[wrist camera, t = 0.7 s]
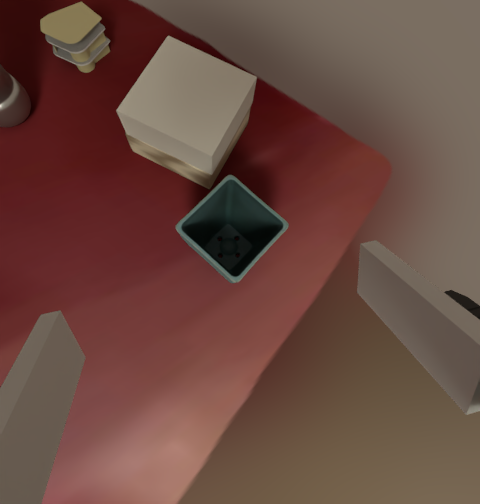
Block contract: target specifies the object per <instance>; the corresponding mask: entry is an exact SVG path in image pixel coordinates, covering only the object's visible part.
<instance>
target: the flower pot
mask: <svg viewBox="0 0 480 504" xmlns="http://www.w3.org/2000/svg"><path fill="white" fill-rule="evenodd" d="M288 225H289V224H288V222H287V221H285V220H284V219H283V218H282V217H281V216H280V215H278V214H277V213H276V212H275V211H274V210H273V209H271V208H270V207H269V206H268V205H267V204H265V203H264V202H263V201H262V200H261V199H260V198H258V197H257V196H256V195H255V194H254V193H253V192H251V191H250V190H249V189H248V188H247V187H246V186H245V185H244V184H243V183H241V182H240V181H239V180H238V179H237V178H236V177H234V176H233V175H228V176H226V177H225V178H224V179H223V180H222V181H221V182H220V183H219V184H218V185H217V186H216V187H215V188H214V189H213V190H212V191H211V192H210V193H209V194H208V195H207V196H206V197H205V198H204V199H203V200H202V201H201V202H200V203H198V205H196V206H195V207H194V208H193V209H192V210H191V211H190V212H189V213H188V214H187V215H186V216H185V217H184V218H183V219H182V220H181V221H179V223H178V224H177V225H176V230H177V232H178V233H179V234H180V235H181V237H182V238H183V239H184V241H185V242H186V243H187V244H188V245H189V246H190V247H192V248H193V249H194V250H195V251H196V252H197V253H198V254H199V255H200V256H201V257H203V258H204V259H205V260H206V261H207V262H208V263H209V264H210V265H211V266H212V267H213V268H215V269H216V270H217V271H218V272H219V273H220V274H221V275H222V276H223V277H224V278H225V279H227V280H228V281H229V282H230V283H236V282H239V281H240V280H241V279H242V278H243V277H244V275H245V274H246V273H247V272H248V271H249V270H250V269H251V267H252V266H253V265H254V264H255V263H256V262H257V261H258V260H259V258H260V257H261V256H262V255H263V254H264V253H265V252H266V251H267V250H268V249H269V247H270V246H271V245H272V244H273V243H274V242H275V241H276V240H277V239H278V238H279V237H280V236H281V235H282V234H283V233H284V232H285V231H286V230H287V228H288ZM219 237H220V238H222V240H221V241H218V238H219ZM235 237H238V238H239V240H235ZM237 253H238V254H240V256H239V257H236V254H237ZM219 254H222V257H221V258H219V257H218V255H219Z"/></svg>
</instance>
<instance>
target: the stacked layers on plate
mask: <svg viewBox="0 0 480 504" xmlns="http://www.w3.org/2000/svg"><path fill="white" fill-rule="evenodd" d="M101 19H102V18H101V17H100V16H99V15H97V14H96V13H95V12H94V11H92V10H91V9H90V8H89V7H87V6H86V5H85V4H84V3H82V2H79V3H76V4H74V5H71V6H69V7H66V8H63V9H61V10H58V11H56V12H53V13H50V14H48V15H47V16H45V17H44V18H42V19H41V20H40V25H41V31H42V32H43V33H45V34H46V41H47V42H48V43H50V44H52V45H53V53H54V54H55V55H56V56H58V57H60V58H62V59H65V60H67V61H69V62H71V63H73V64H75V65H77V67H78V69H79V70H80V71H81V72H85V73H87V72H91V71H92V70H93V69H94V68H95V63H96V62H98V61H99V60H100V59H101V58H103V57H104V56H105V55H106V54H108V53H109V52H110V49H109V46H108V44H109V43H110V40H109V39H108V38H107V37H105V35H104V33H103V31H104V30H105V26H103V25H102V24H101V23H100V22H99V21H100V20H101Z"/></svg>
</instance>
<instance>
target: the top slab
mask: <svg viewBox="0 0 480 504" xmlns="http://www.w3.org/2000/svg"><path fill="white" fill-rule="evenodd" d="M256 79H257V77H256V76H254V75H251V74H249V73H247V72H245V71H243V70H241V69H239V68H236V67H234V66H232V65H230V64H228V63H226V62H224V61H222V60H219V59H217V58H215V57H213V56H211V55H209V54H207V53H204V52H202V51H200V50H198V49H196V48H194V47H192V46H189V45H187V44H185V43H183V42H181V41H179V40H177V39H175V38H172V37H170V36H167V38H166V39H165V41H164V42H163V44H162V45H161V46H160V48H159V49H158V51H157V52H156V54H155V55H154V57H153V58H152V59H151V61H150V62H149V64H148V65H147V67H146V68H145V70H144V71H143V72H142V74H141V75H140V77H139V78H138V80H137V81H136V83H135V84H134V85H133V87H132V88H131V90H130V91H129V93H128V94H127V96H126V97H125V98H124V100H123V101H122V103H121V104H120V106H119V107H118V109H117V110H116V111H117V113H118V116H119V118H120V120H121V122H122V125H123V127H124V129H125V131H126V133H127V134H128V135H130V136H132V137H134V138H136V139H138V140H140V141H142V142H144V143H146V144H148V145H150V146H153V147H155V148H157V149H159V150H161V151H163V152H165V153H167V154H169V155H171V156H173V157H175V158H177V159H179V160H182V161H184V162H186V163H188V164H190V165H192V166H194V167H196V168H198V169H200V170H202V171H204V172H207V173H209V174H211V175H212V174H213V173H214V171H215V169H216V167H217V165H218V164H219V162H220V160H221V158H222V156H223V155H224V153H225V151H226V149H227V147H228V146H229V144H230V142H231V140H232V138H233V137H234V135H235V133H236V131H237V130H238V128H239V126H240V124H241V122H242V121H243V119H244V117H245V115H246V113H247V112H248V110H249V108H250V106H251V104H252V102H253V97H254V91H255V85H256Z"/></svg>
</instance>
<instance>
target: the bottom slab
mask: <svg viewBox="0 0 480 504" xmlns="http://www.w3.org/2000/svg"><path fill="white" fill-rule="evenodd" d="M250 108H251V106H250ZM250 108H249V110H248V112H247V113H246V115H245V117H244V119H243V121H242V122H241V124H240V126H239V128H238V130H237V131H236V133H235V135H234V137H233V138H232V140H231V142H230V144H229V146H228V147H227V149H226V151H225V153H224V155H223V156H222V158H221V160H220V162H219V164H218V165H217V167H216V169H215V171H214V173H213V174H212V175H211V174H209V173H207V172H204V171H202V170H200V169H198V168H196V167H194V166H192V165H190V164H188V163H186V162H184V161H182V160H179V159H177V158H175V157H173V156H171V155H169V154H167V153H165V152H163V151H161V150H159V149H157V148H155V147H153V146H150V145H148V144H146V143H144V142H142V141H140V140H138V139H136V138H134V137H132V136H130V135H128V134H127V133H125V135H126V137H127V139H128V141H129V144H130V146H131V148H132V150H133V151H134V152H136V153H138V154H140V155H142V156H144V157H146V158H148V159H150V160H152V161H154V162H156V163H158V164H160V165H162V166H164V167H166V168H168V169H170V170H172V171H174V172H176V173H178V174H180V175H182V176H184V177H186V178H188V179H190V180H192V181H194V182H196V183H198V184H200V185H202V186H204V187H206V188H208V189H210V188H211V187H212V185H213V183H214V181H215V180H216V178H217V176H218V174H219V173H220V171H221V169H222V167H223V166H224V164H225V162H226V160H227V159H228V157H229V155H230V153H231V152H232V150H233V148H234V146H235V145H236V143H237V141H238V139H239V138H240V136H241V134H242V132H243V131H244V129H245V127H246V126H247V124H248V119H249V114H250Z"/></svg>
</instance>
